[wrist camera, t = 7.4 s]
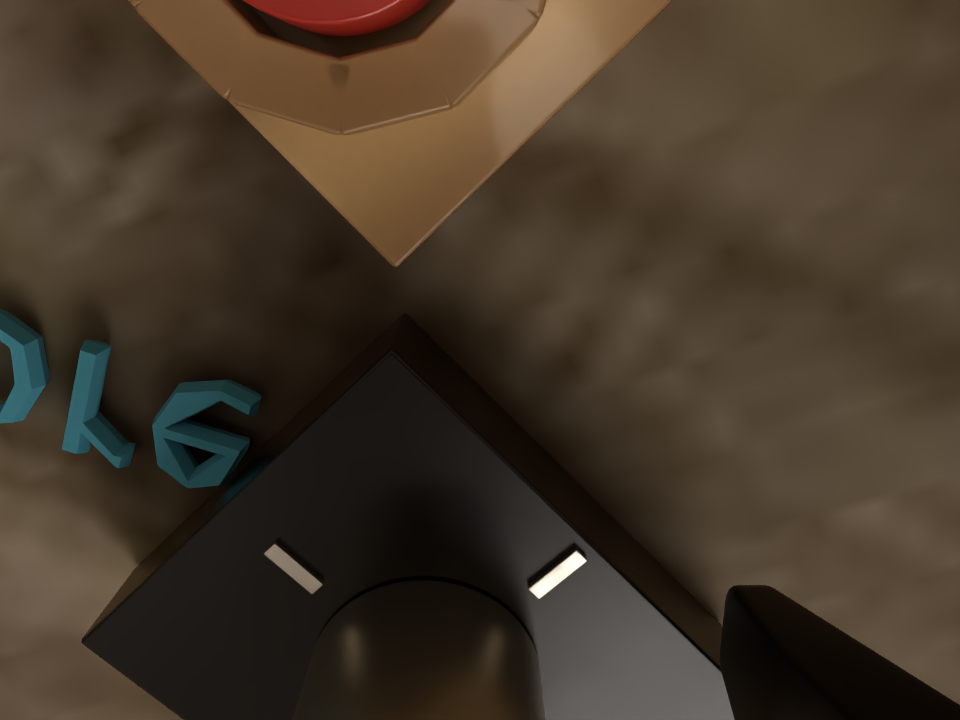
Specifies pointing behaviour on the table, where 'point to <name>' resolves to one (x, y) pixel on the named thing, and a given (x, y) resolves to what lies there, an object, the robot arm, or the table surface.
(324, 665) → the knob
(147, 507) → the table surface
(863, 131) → the table surface
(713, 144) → the table surface
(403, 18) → the button
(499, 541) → the dial console
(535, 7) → the button block
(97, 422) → the nameplate
